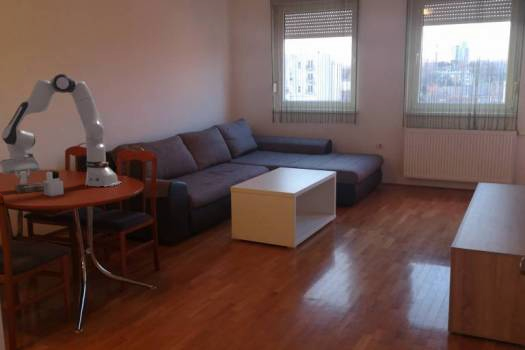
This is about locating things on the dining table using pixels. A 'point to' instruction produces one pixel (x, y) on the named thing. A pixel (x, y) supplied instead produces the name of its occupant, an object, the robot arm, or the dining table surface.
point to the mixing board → (30, 188)
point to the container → (53, 184)
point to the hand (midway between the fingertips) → (23, 177)
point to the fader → (23, 179)
